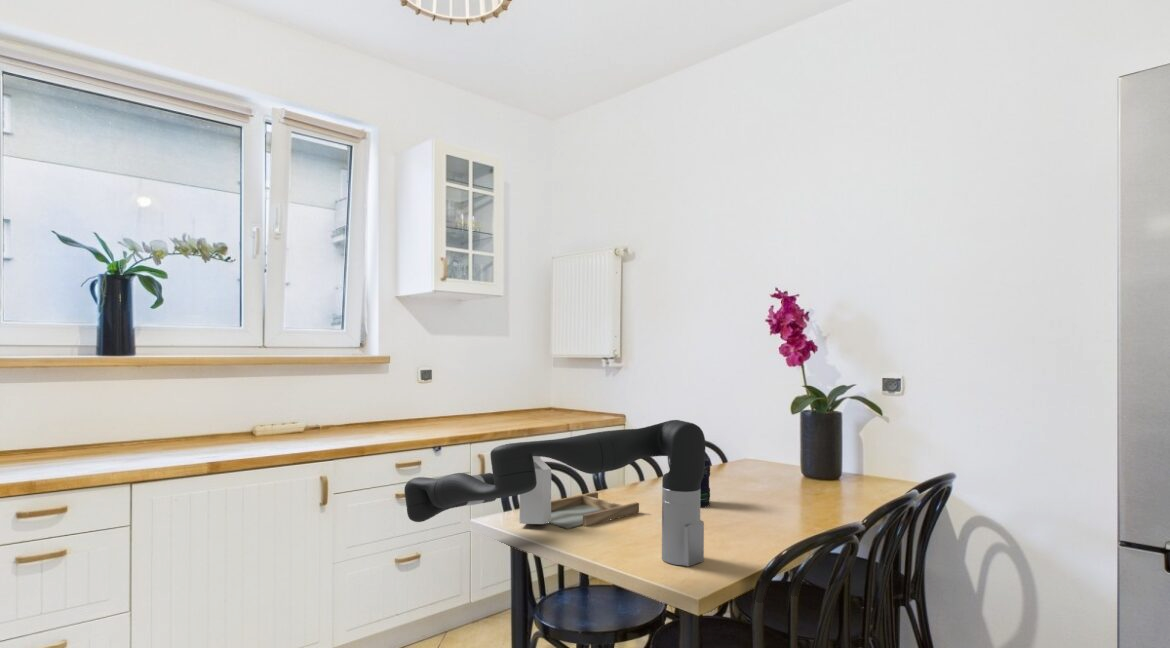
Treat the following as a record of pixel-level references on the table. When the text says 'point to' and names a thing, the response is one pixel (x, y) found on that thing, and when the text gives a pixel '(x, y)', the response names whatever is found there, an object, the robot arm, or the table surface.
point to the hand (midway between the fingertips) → (529, 480)
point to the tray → (587, 510)
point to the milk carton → (537, 497)
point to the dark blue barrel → (705, 485)
